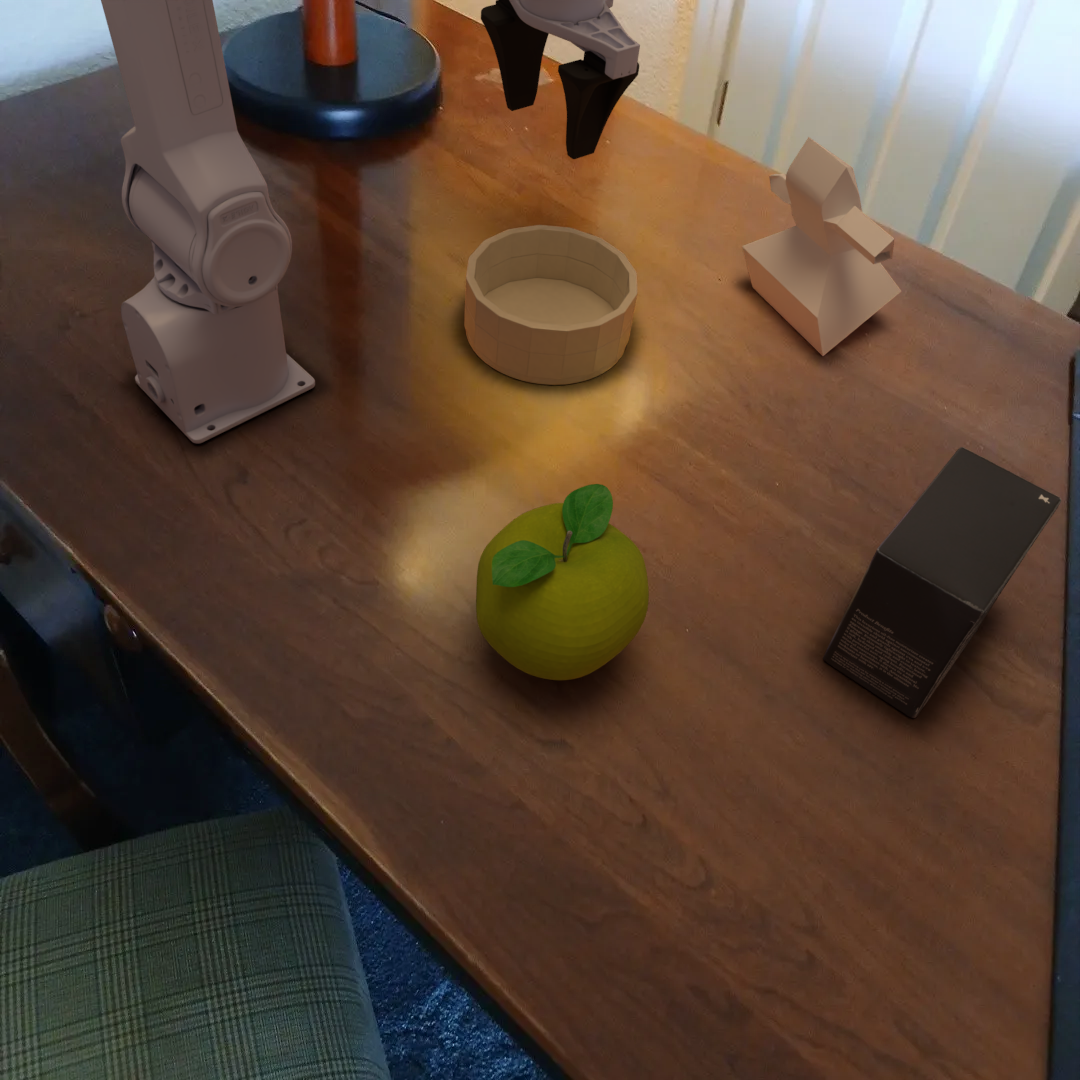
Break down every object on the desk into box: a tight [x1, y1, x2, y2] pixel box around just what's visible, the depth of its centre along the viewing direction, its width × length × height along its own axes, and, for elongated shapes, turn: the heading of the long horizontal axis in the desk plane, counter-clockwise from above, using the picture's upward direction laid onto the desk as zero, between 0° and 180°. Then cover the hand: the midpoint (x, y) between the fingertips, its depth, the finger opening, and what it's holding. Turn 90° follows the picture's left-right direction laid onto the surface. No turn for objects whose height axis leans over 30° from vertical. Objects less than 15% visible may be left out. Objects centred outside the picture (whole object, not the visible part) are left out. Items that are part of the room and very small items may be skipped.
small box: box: [822, 446, 1062, 719], centre depth 59 cm, size 11×6×10 cm, turn 141°
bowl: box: [463, 224, 638, 386], centre depth 77 cm, size 12×12×5 cm
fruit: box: [475, 483, 650, 681], centre depth 57 cm, size 9×9×10 cm
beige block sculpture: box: [741, 136, 902, 357], centre depth 78 cm, size 8×14×14 cm, turn 29°
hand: (549, 129), depth 78 cm, fingers open, 7 cm apart
